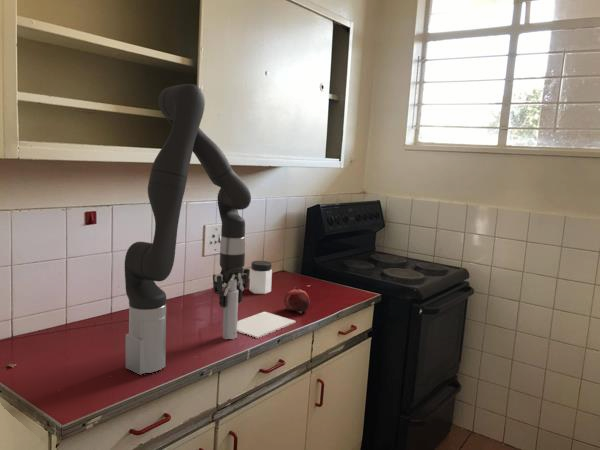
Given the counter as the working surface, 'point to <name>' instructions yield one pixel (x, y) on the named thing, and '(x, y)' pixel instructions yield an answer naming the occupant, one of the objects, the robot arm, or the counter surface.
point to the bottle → (231, 312)
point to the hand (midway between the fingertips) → (230, 304)
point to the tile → (262, 324)
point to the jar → (260, 277)
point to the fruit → (297, 300)
